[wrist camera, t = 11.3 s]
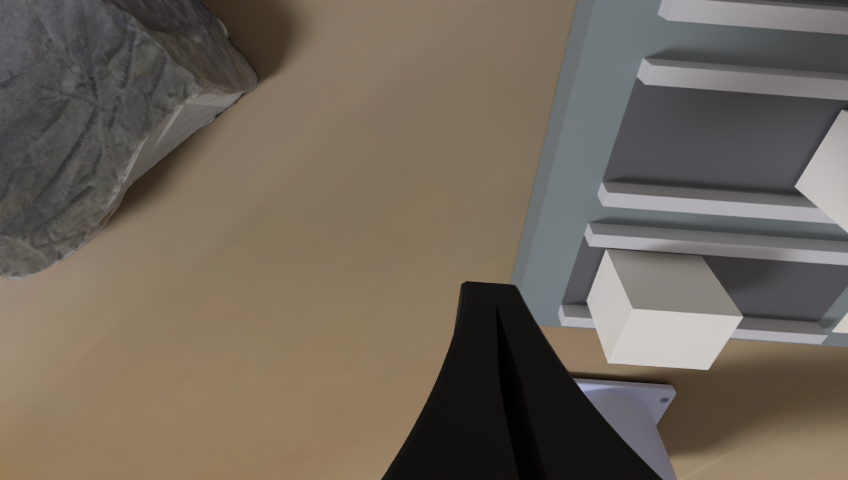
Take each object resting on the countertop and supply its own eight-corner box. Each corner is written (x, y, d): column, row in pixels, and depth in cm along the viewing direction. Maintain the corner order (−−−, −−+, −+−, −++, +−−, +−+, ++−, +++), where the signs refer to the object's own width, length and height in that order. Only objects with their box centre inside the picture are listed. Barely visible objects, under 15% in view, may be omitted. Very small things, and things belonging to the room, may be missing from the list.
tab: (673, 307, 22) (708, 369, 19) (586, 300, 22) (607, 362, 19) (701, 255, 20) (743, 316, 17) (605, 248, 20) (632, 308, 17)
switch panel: (852, 319, 25) (893, 363, 23) (507, 294, 25) (514, 336, 22) (1302, -201, 13) (1483, -218, 11) (638, -259, 13) (680, -289, 10)
